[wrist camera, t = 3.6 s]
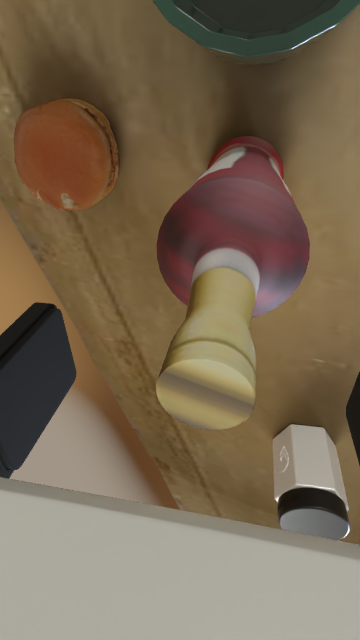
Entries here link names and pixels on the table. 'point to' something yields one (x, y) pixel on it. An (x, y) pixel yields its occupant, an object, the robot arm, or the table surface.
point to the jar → (309, 483)
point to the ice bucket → (255, 25)
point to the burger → (66, 153)
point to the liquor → (227, 279)
